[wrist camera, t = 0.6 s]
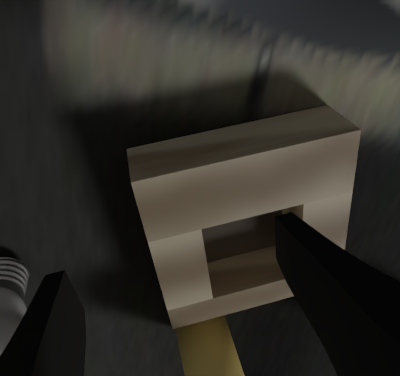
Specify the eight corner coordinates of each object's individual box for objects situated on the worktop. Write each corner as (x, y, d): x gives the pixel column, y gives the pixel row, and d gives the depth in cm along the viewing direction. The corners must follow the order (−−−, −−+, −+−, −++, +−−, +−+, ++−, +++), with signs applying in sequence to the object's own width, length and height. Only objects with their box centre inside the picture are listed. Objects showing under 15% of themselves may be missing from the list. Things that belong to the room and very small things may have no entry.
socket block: (316, 249, 29) (340, 283, 26) (165, 289, 28) (172, 329, 25) (327, 104, 22) (361, 129, 19) (126, 148, 21) (130, 182, 18)
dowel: (224, 322, 32) (256, 422, 25) (178, 335, 31) (198, 440, 25) (219, 292, 29) (253, 393, 23) (169, 305, 29) (190, 412, 22)
